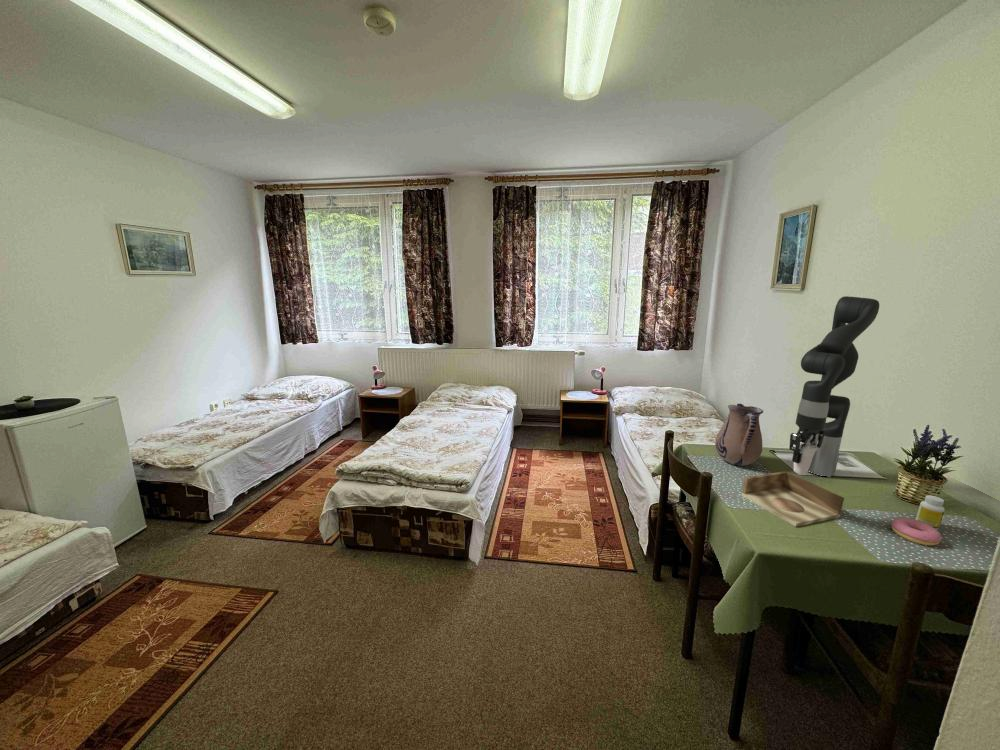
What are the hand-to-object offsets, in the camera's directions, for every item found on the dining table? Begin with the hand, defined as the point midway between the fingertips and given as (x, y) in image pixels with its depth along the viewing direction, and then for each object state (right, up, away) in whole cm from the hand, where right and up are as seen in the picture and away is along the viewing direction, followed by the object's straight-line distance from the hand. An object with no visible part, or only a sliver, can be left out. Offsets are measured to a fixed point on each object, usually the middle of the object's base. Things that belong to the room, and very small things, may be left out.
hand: (802, 460), depth 131 cm
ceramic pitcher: (+2, -10, +40) cm, 41 cm away
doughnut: (+28, -22, -9) cm, 36 cm away
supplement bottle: (+38, -21, -3) cm, 43 cm away
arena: (0, -17, +7) cm, 19 cm away
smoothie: (0, -4, +1) cm, 4 cm away
